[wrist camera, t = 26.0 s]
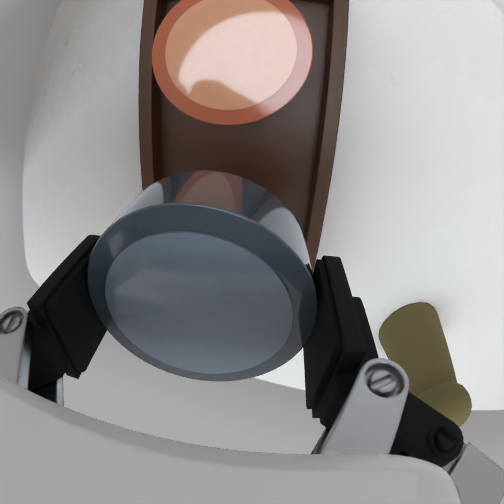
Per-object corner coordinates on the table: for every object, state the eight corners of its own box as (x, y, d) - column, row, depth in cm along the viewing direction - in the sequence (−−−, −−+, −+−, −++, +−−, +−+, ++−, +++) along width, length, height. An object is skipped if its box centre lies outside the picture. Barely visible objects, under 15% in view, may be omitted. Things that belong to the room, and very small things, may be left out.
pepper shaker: (446, 319, 23) (489, 414, 13) (400, 355, 25) (427, 451, 16) (417, 291, 21) (467, 404, 12) (365, 335, 24) (390, 448, 14)
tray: (160, 248, 20) (151, 263, 19) (158, -6, 11) (145, -14, 9) (309, 261, 20) (311, 278, 18) (341, -2, 11) (349, -12, 9)
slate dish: (145, 305, 13) (118, 369, 10) (120, 161, 10) (60, 203, 6) (291, 317, 13) (297, 388, 10) (315, 166, 10) (343, 215, 6)
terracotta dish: (175, 116, 15) (149, 125, 12) (181, 6, 11) (156, -13, 8) (298, 122, 15) (306, 132, 12) (308, 8, 11) (317, -14, 8)
